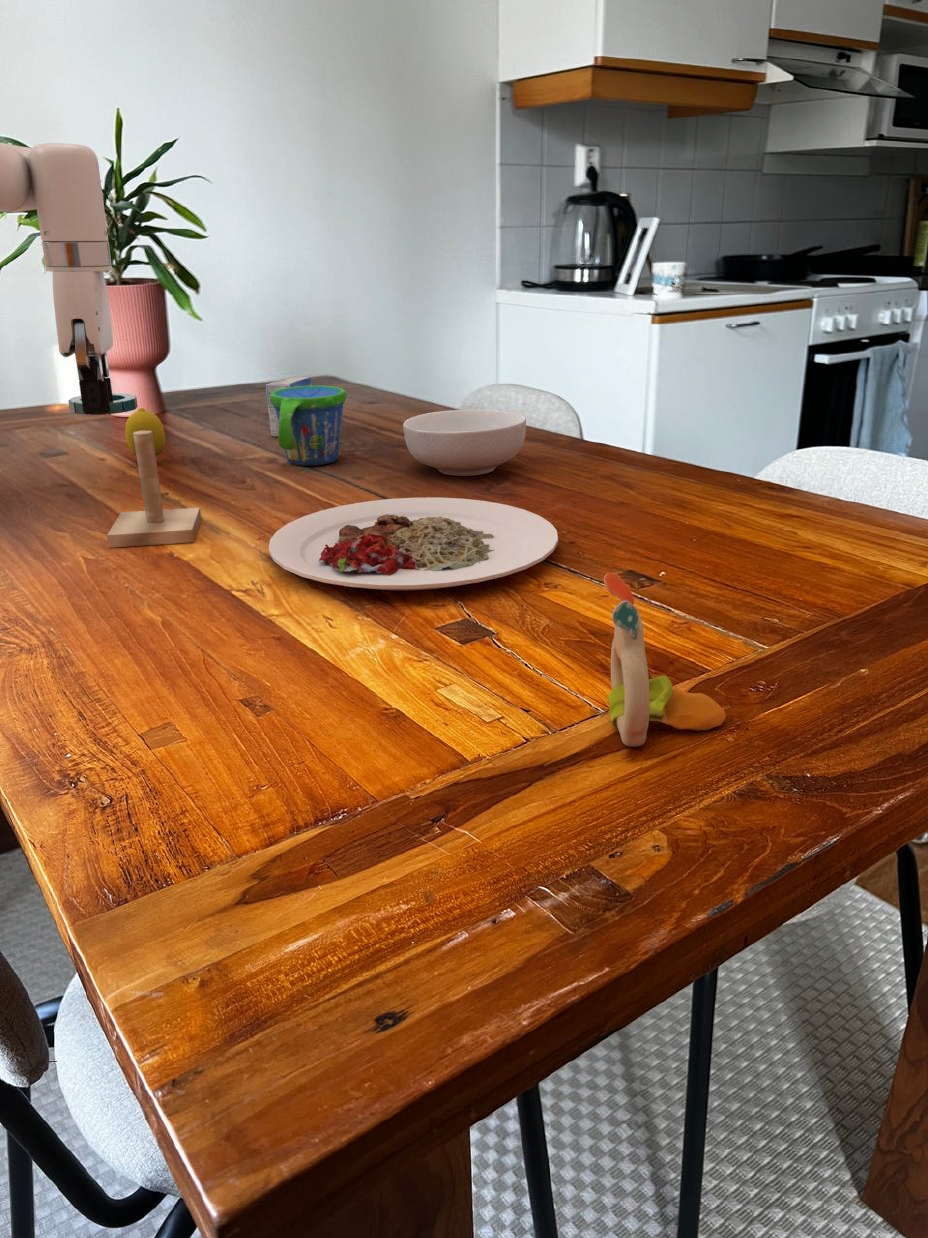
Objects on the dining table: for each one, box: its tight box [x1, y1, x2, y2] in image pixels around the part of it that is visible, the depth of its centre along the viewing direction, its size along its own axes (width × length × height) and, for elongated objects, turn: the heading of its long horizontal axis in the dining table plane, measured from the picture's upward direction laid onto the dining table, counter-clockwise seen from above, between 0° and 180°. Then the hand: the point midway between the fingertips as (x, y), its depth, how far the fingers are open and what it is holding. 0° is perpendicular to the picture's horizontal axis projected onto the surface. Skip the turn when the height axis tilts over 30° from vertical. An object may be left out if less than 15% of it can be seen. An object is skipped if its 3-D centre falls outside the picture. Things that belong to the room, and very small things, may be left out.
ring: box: [68, 392, 139, 416], centre depth 126 cm, size 8×8×1 cm
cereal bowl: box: [402, 409, 527, 477], centre depth 134 cm, size 17×17×7 cm
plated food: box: [268, 496, 559, 591], centre depth 101 cm, size 30×30×3 cm
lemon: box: [124, 407, 166, 457], centre depth 141 cm, size 6×6×8 cm
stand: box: [106, 431, 202, 549], centre depth 107 cm, size 9×9×12 cm
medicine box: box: [265, 376, 313, 438], centre depth 159 cm, size 8×4×9 cm, turn 162°
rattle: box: [603, 572, 727, 748], centre depth 63 cm, size 8×8×12 cm
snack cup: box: [270, 385, 348, 467], centre depth 139 cm, size 16×10×10 cm
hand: (99, 410), depth 123 cm, fingers closed on ring, 1 cm apart
